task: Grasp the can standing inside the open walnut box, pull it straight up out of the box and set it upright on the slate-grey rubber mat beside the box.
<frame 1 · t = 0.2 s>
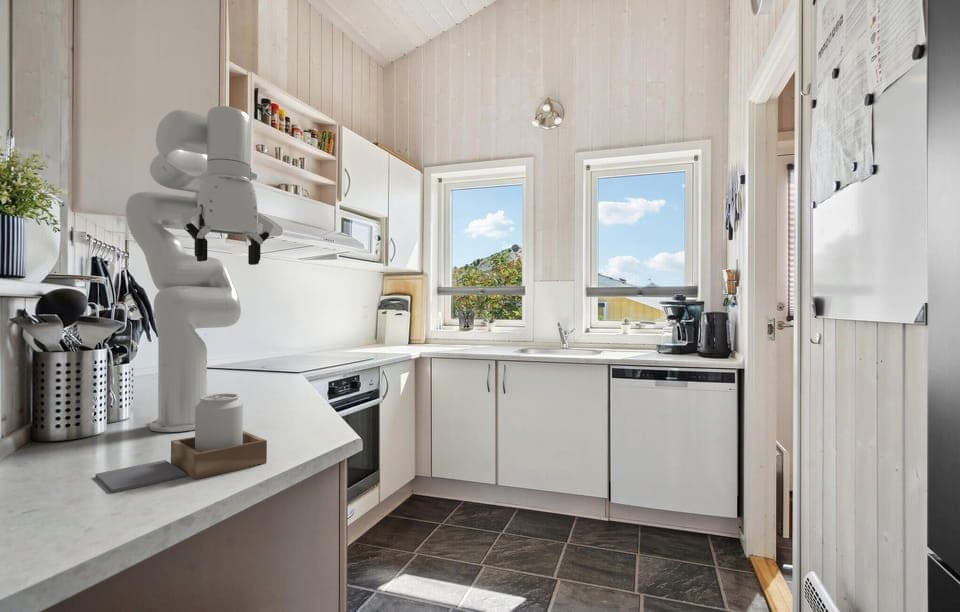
hand: (228, 262, 98), 36 cm above the counter, tool pointing down, fingers open, 9 cm apart
rubber mat: (141, 476, 82), on the counter
can: (218, 464, 90), resting in walnut box
walnut box: (218, 463, 90), on the counter
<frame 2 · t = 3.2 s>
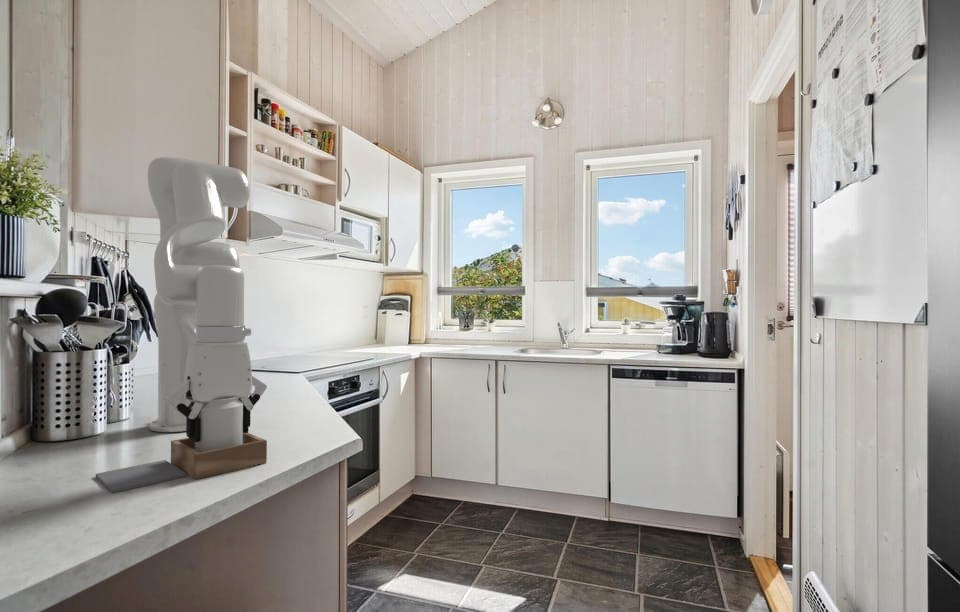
hand: (219, 435, 89), 5 cm above the counter, tool pointing down, fingers closed on can, 7 cm apart
can: (219, 464, 90), resting in walnut box, touching gripper
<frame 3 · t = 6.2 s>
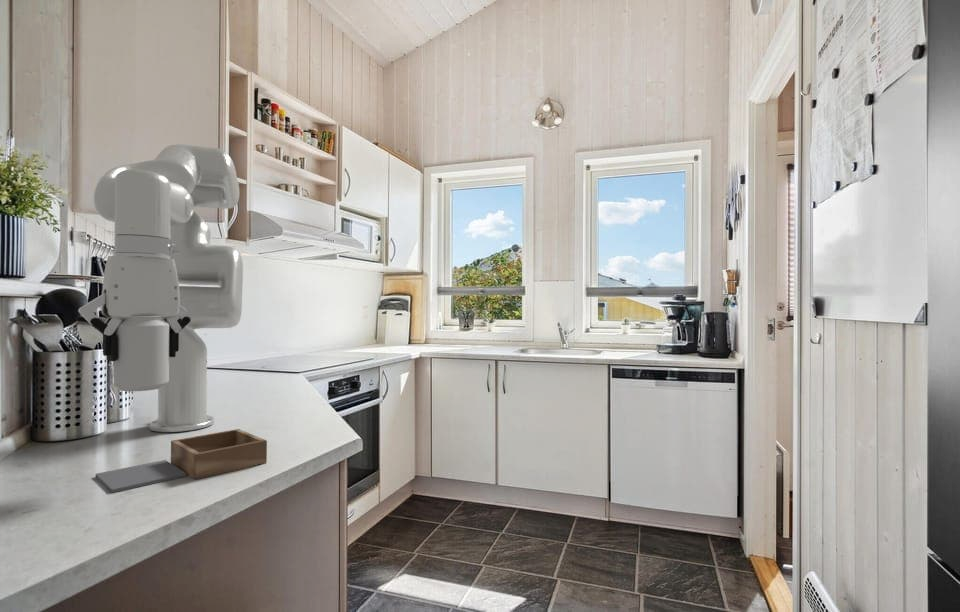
hand: (142, 357, 82), 19 cm above the counter, tool pointing down, fingers closed on can, 7 cm apart
can: (141, 389, 82), point 14 cm above the counter, touching gripper
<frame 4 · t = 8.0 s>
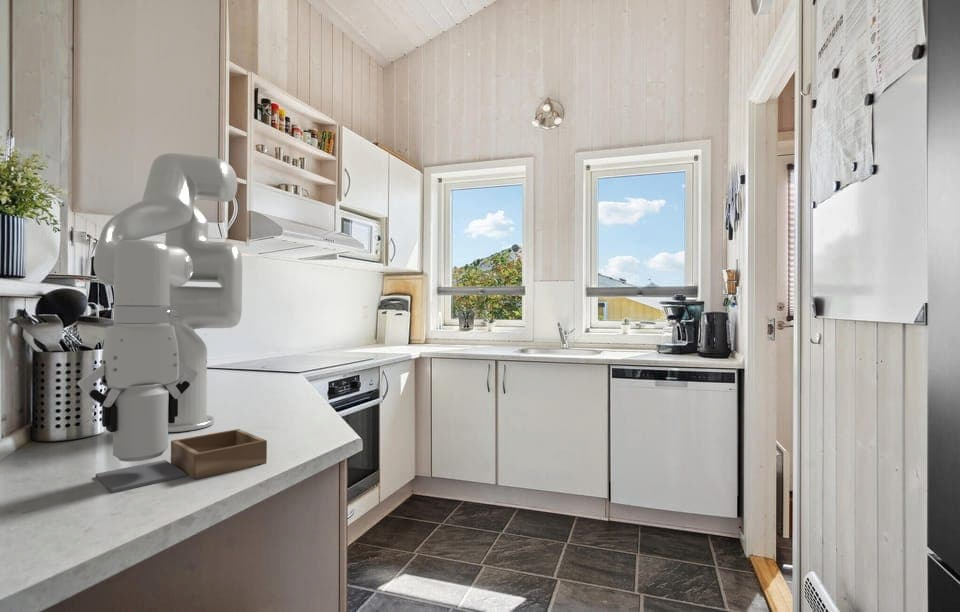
hand: (141, 425, 82), 8 cm above the counter, tool pointing down, fingers closed on can, 7 cm apart
can: (141, 457, 82), point 3 cm above the counter, touching gripper
when the fingers open (7 cm above the counter, at t = 9.4 s): can drops 1 cm, resting on rubber mat.
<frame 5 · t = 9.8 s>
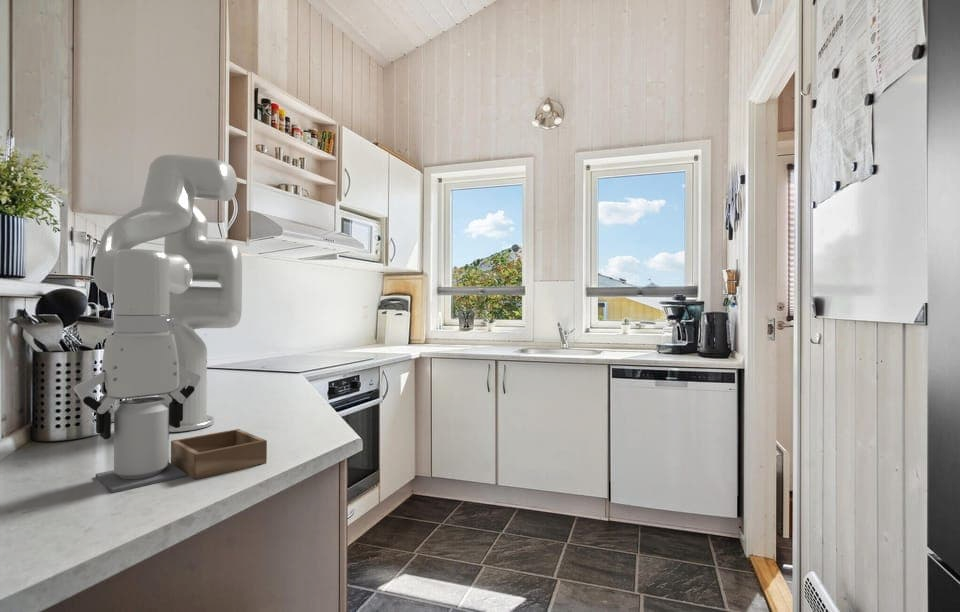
hand: (141, 431, 82), 7 cm above the counter, tool pointing down, fingers open, 9 cm apart
can: (142, 473, 83), resting on rubber mat
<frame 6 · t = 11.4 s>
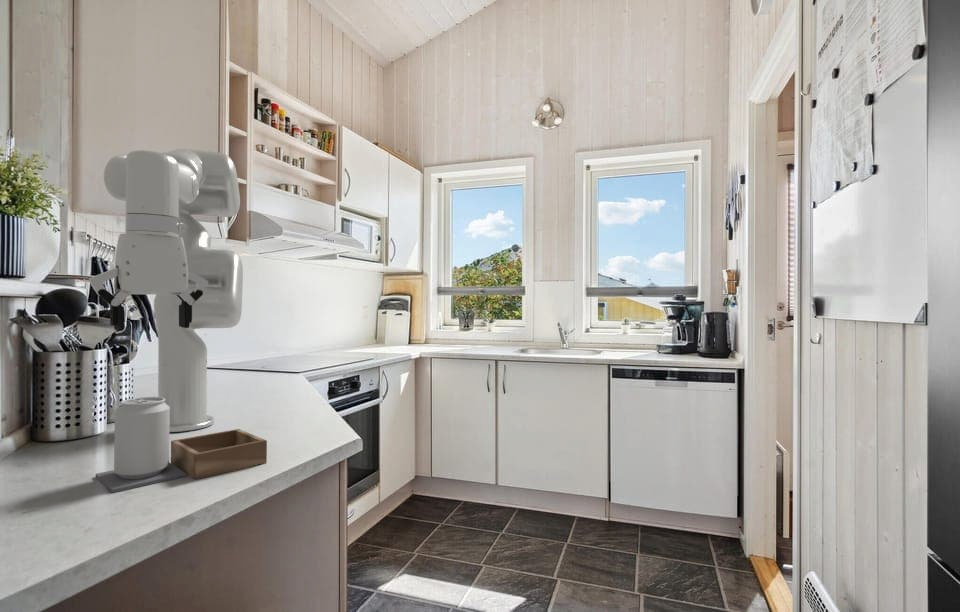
hand: (152, 328, 86), 24 cm above the counter, tool pointing down, fingers open, 9 cm apart
nothing on the counter moved.
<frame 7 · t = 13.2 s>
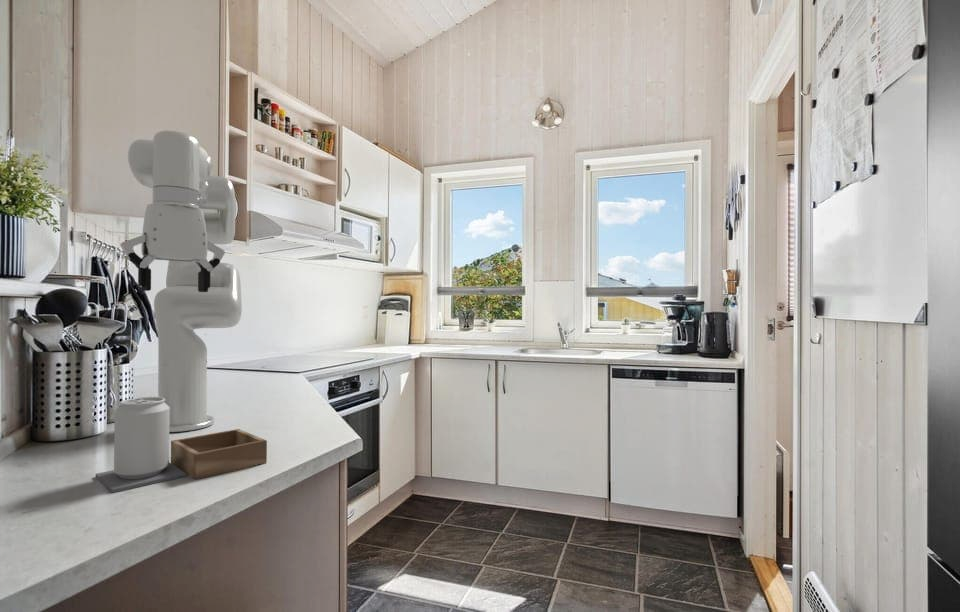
hand: (175, 291, 96), 30 cm above the counter, tool pointing down, fingers open, 9 cm apart
nothing on the counter moved.
at the end: can 0.3 cm off-centre on the rubber mat, point 0.3 cm above the rubber mat's base; can tilted 0°; the gripper is holding nothing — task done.
